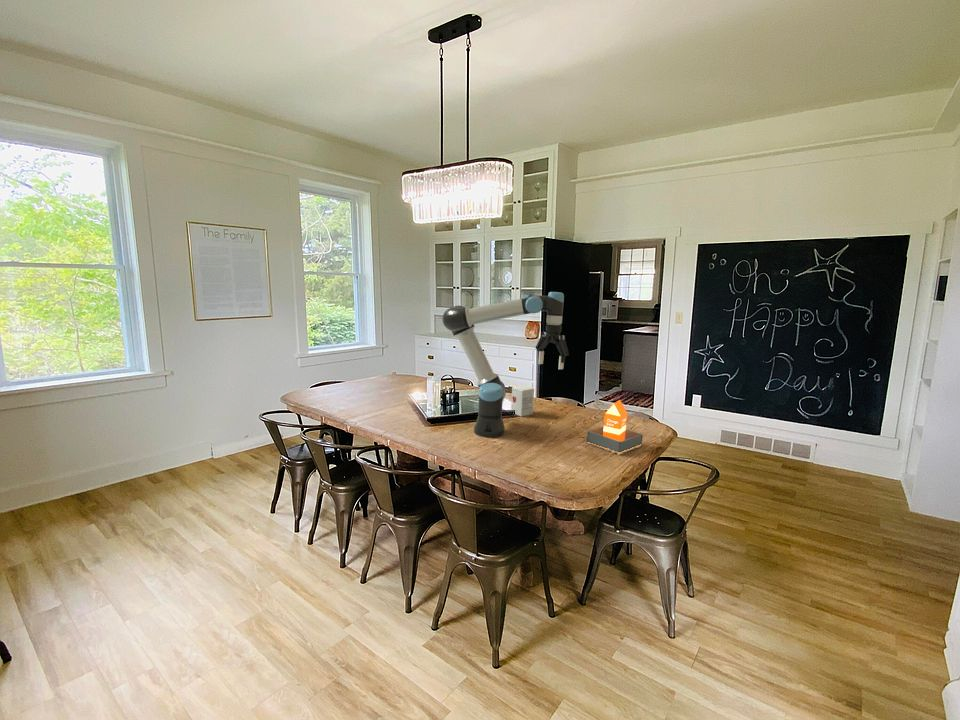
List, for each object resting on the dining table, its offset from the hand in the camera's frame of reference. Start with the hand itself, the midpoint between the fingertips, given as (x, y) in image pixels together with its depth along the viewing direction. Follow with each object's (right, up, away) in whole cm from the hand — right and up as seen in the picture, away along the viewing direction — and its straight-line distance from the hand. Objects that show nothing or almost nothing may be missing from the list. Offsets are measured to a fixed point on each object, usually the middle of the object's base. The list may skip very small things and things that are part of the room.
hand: (550, 366), depth 225 cm
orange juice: (+27, -35, -15) cm, 47 cm away
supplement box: (-12, -27, +29) cm, 41 cm away
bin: (+27, -36, -15) cm, 48 cm away
